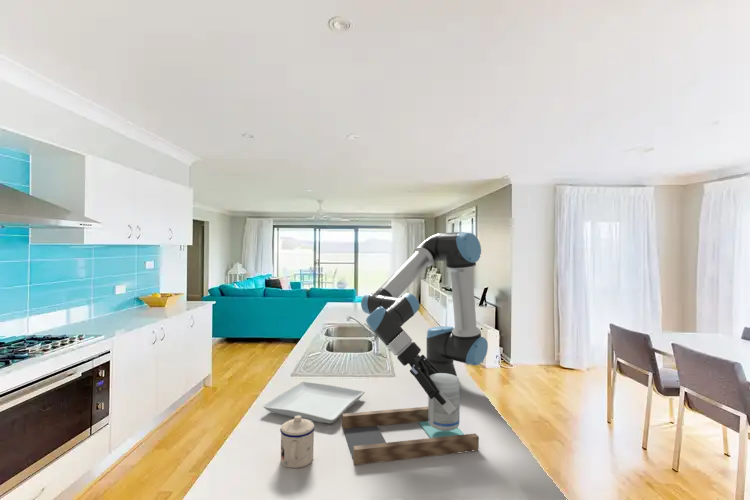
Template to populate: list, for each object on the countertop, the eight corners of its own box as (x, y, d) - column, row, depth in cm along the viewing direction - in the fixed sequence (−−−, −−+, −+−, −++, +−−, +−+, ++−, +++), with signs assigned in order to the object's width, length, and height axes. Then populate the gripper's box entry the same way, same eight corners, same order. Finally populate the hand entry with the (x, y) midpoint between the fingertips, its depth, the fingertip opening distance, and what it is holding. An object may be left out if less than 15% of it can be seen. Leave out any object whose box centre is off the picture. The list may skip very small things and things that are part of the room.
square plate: (333, 431, 121) (333, 419, 121) (260, 416, 130) (261, 405, 130) (365, 399, 146) (365, 389, 146) (302, 389, 156) (302, 380, 156)
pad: (449, 420, 129) (449, 418, 129) (473, 445, 112) (473, 444, 112) (418, 423, 127) (418, 421, 127) (438, 449, 110) (438, 448, 110)
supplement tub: (465, 427, 118) (466, 379, 118) (443, 435, 113) (443, 385, 113) (443, 415, 126) (444, 370, 126) (421, 422, 121) (422, 375, 121)
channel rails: (446, 416, 132) (446, 405, 132) (478, 450, 110) (478, 436, 110) (342, 426, 124) (342, 413, 123) (354, 464, 102) (354, 449, 102)
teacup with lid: (283, 450, 108) (284, 409, 108) (316, 450, 108) (316, 409, 108) (273, 476, 96) (274, 429, 96) (310, 476, 96) (310, 429, 96)
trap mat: (377, 426, 123) (377, 425, 123) (391, 455, 107) (391, 453, 107) (343, 430, 121) (343, 428, 121) (352, 459, 104) (352, 457, 104)
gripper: (403, 347, 134) (449, 398, 130) (387, 366, 113) (440, 428, 109) (419, 333, 133) (465, 385, 128) (405, 350, 112) (460, 412, 107)
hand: (454, 404), depth 118 cm, fingers closed on supplement tub, 9 cm apart
